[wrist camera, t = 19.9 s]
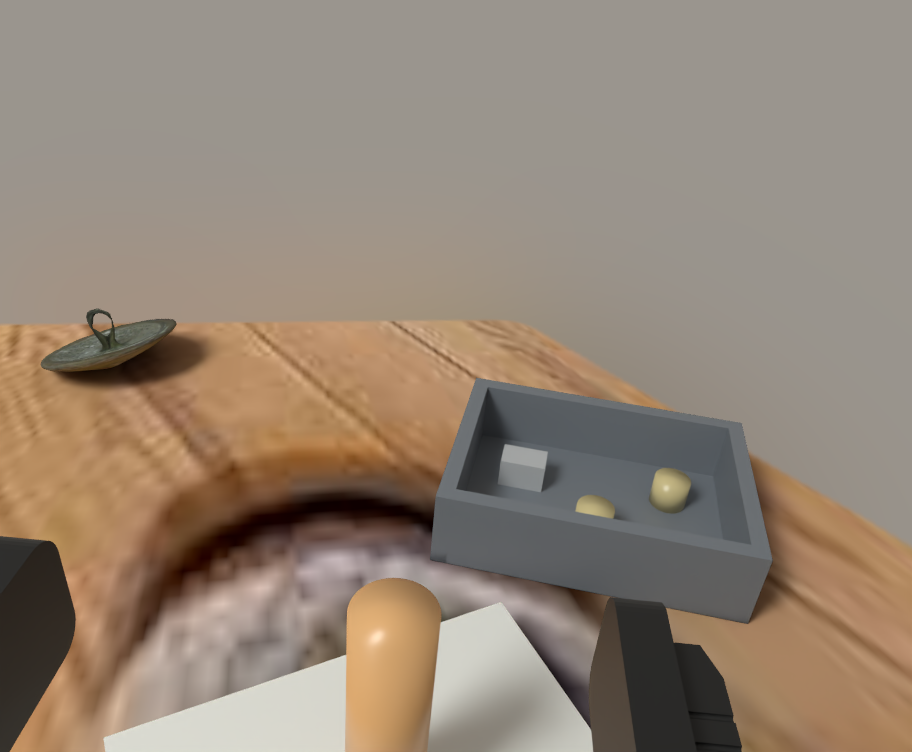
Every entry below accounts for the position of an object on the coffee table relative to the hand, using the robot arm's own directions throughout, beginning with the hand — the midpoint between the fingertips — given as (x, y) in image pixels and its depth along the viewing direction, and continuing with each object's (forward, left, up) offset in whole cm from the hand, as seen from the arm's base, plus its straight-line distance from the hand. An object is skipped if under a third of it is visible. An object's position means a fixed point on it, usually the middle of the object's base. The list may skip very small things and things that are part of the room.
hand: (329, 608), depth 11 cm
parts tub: (-7, -34, -25) cm, 43 cm away
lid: (+33, -42, -26) cm, 59 cm away
